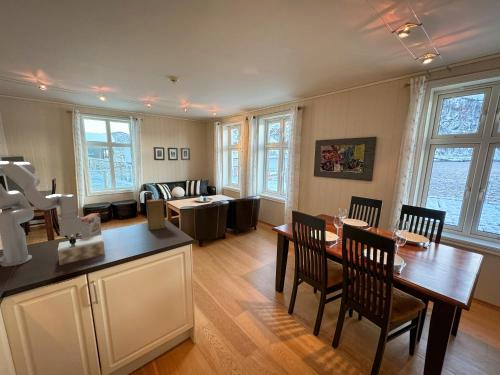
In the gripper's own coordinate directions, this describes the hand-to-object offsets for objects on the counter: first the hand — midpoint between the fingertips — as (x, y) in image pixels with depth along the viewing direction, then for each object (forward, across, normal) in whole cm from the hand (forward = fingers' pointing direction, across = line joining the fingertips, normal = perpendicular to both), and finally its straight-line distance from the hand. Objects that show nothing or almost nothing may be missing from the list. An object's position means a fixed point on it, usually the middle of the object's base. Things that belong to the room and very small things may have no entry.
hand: (73, 244), depth 131 cm
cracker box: (+10, +10, +22) cm, 26 cm away
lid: (+2, +4, +3) cm, 5 cm away
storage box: (+10, +4, +3) cm, 11 cm away
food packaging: (+10, +56, +30) cm, 64 cm away
